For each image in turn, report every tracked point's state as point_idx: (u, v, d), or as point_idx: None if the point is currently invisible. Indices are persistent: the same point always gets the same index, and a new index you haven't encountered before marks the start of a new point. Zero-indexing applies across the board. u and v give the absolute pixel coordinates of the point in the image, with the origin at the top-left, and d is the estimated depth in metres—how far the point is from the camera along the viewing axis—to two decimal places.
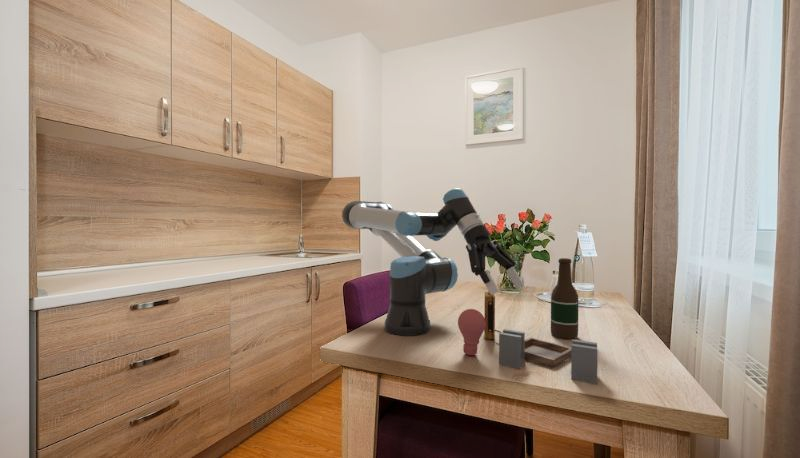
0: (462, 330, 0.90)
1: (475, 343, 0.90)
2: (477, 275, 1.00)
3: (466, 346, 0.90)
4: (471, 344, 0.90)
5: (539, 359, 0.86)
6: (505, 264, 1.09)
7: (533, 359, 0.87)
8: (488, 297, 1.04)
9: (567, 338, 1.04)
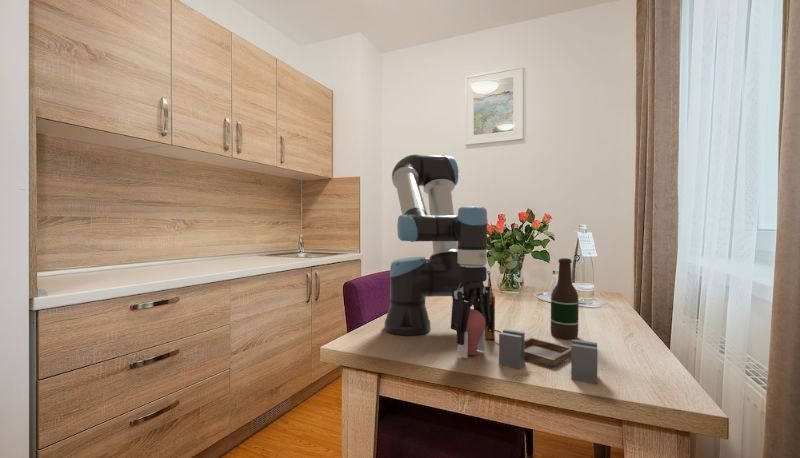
0: None
1: (475, 343, 0.90)
2: None
3: None
4: (471, 344, 0.90)
5: (539, 359, 0.86)
6: None
7: (533, 359, 0.87)
8: None
9: (567, 338, 1.04)
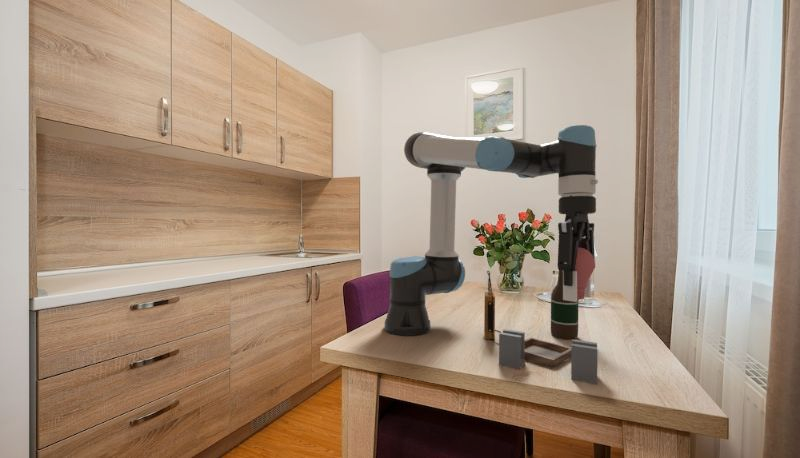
0: None
1: (584, 285, 0.77)
2: None
3: None
4: (579, 286, 0.77)
5: (539, 359, 0.86)
6: None
7: (533, 359, 0.87)
8: (488, 297, 1.04)
9: (567, 338, 1.04)
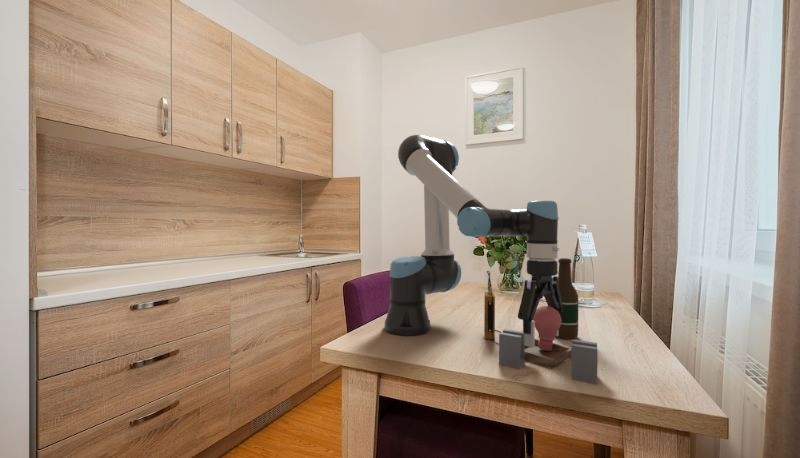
0: (539, 326, 0.92)
1: (552, 339, 0.92)
2: None
3: (542, 342, 0.93)
4: (548, 340, 0.92)
5: (539, 359, 0.86)
6: (552, 305, 0.96)
7: (533, 359, 0.87)
8: (488, 297, 1.04)
9: (567, 338, 1.04)
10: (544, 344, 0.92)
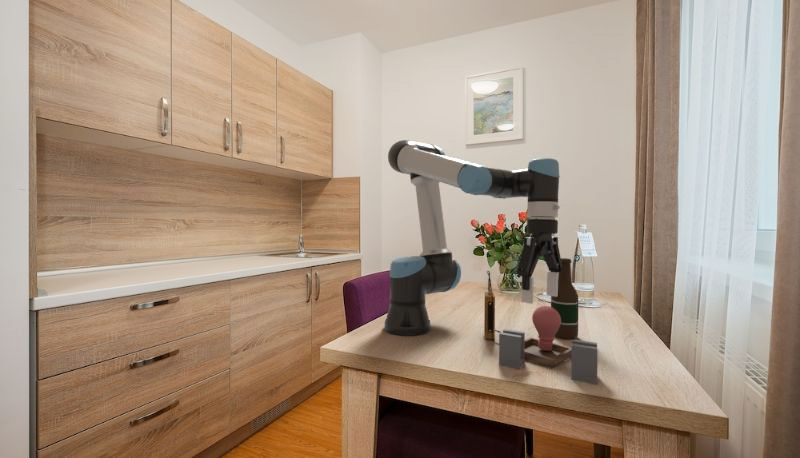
0: (538, 326, 0.92)
1: (551, 339, 0.92)
2: (519, 275, 0.88)
3: (542, 342, 0.93)
4: (548, 340, 0.92)
5: (539, 359, 0.86)
6: (551, 266, 0.96)
7: (533, 359, 0.87)
8: (488, 297, 1.04)
9: (567, 338, 1.04)
10: (544, 344, 0.92)
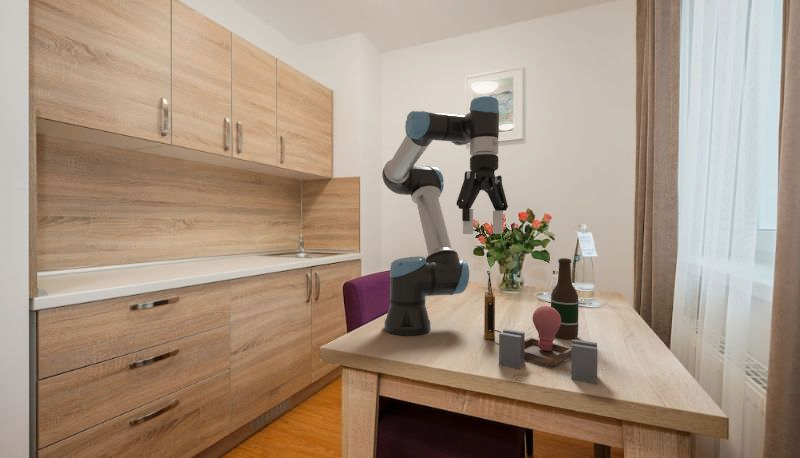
0: (539, 326, 0.92)
1: (551, 339, 0.92)
2: (460, 208, 0.91)
3: (542, 342, 0.93)
4: (548, 340, 0.92)
5: (539, 359, 0.86)
6: (496, 204, 0.99)
7: (533, 359, 0.87)
8: (488, 297, 1.04)
9: (567, 338, 1.04)
10: (544, 344, 0.92)
